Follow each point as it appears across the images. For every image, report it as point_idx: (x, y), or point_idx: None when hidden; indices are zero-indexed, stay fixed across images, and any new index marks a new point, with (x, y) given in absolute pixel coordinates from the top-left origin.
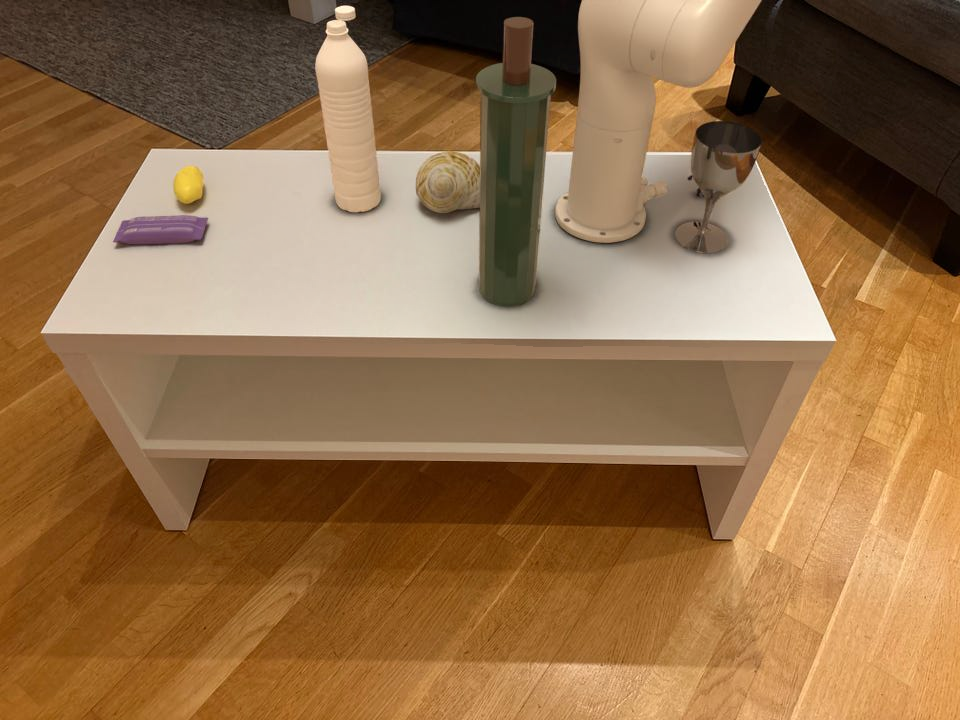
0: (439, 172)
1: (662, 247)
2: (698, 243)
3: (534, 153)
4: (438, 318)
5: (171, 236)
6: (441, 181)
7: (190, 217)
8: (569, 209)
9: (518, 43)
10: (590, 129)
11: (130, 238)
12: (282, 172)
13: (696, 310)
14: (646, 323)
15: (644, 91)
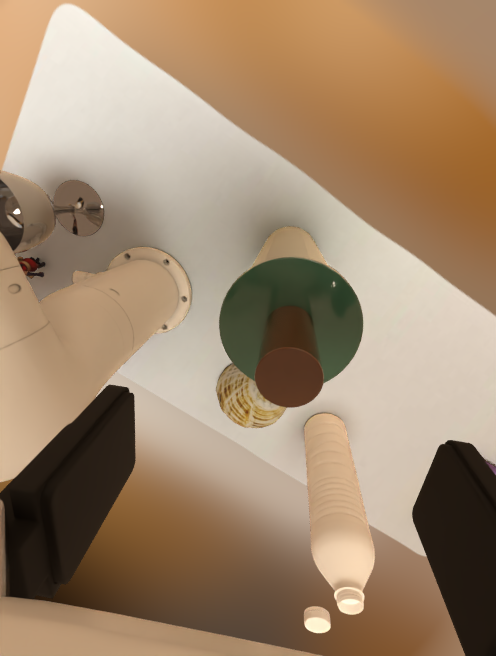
0: None
1: (122, 218)
2: (88, 199)
3: (288, 248)
4: (369, 253)
5: (493, 468)
6: None
7: None
8: (175, 305)
9: (308, 339)
10: (133, 323)
11: None
12: None
13: (151, 116)
14: (207, 129)
15: (45, 311)
